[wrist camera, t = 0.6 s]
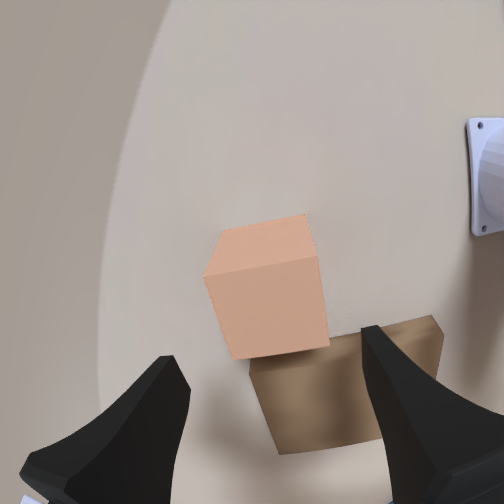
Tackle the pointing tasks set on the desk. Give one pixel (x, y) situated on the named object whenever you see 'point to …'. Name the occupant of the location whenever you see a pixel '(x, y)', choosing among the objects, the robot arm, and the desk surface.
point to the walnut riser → (332, 388)
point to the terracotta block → (268, 289)
